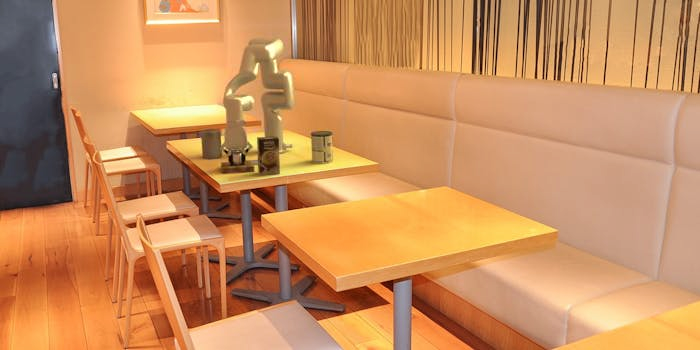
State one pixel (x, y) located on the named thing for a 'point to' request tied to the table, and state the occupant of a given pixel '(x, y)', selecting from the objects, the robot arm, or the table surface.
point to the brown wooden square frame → (237, 167)
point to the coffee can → (321, 147)
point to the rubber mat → (254, 162)
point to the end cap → (237, 157)
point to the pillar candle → (211, 143)
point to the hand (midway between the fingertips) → (237, 163)
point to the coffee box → (268, 155)
